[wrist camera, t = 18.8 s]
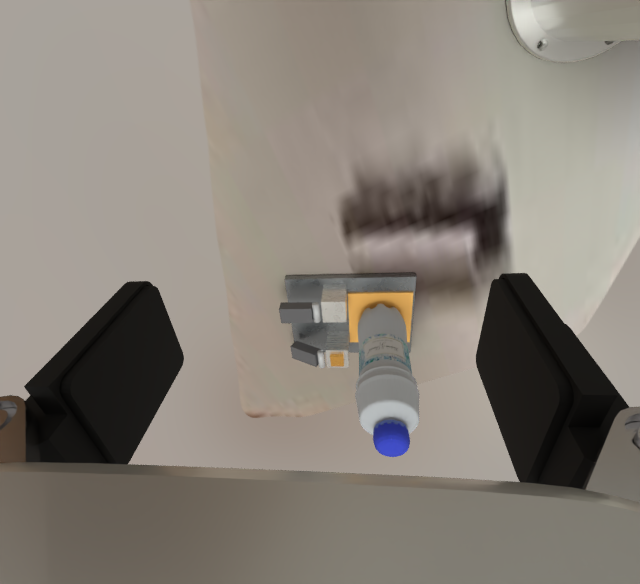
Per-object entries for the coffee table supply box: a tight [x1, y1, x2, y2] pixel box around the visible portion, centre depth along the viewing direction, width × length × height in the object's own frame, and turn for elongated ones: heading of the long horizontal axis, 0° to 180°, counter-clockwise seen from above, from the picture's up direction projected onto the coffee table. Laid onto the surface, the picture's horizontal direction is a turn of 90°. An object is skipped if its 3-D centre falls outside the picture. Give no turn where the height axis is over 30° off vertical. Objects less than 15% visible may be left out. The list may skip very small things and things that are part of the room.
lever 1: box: [279, 302, 321, 323], centre depth 46 cm, size 5×3×1 cm, turn 94°
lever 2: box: [291, 341, 325, 368], centre depth 51 cm, size 5×3×1 cm, turn 94°
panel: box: [285, 273, 416, 368], centre depth 50 cm, size 17×13×6 cm
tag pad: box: [348, 292, 413, 342], centre depth 50 cm, size 8×8×1 cm
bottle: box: [355, 304, 419, 457], centre depth 42 cm, size 7×7×20 cm
